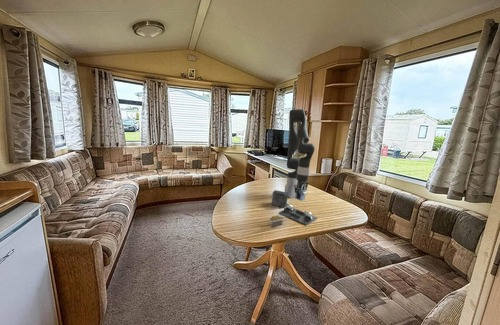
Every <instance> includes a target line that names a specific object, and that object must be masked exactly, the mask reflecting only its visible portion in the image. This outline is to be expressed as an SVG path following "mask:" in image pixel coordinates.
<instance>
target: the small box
mask: <svg viewBox="0 0 500 325" xmlns="http://www.w3.org/2000/svg"><path fill="white" fill-rule="evenodd" d="M271 196H272V198H271V206H275V207H279V208H283V209H284V208H286V207H285V206H286V204H288V197H287V196H288V193H287V192H285V191H281V190H276V189H275V190H274V191H273V192H272V195H271Z"/></svg>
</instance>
